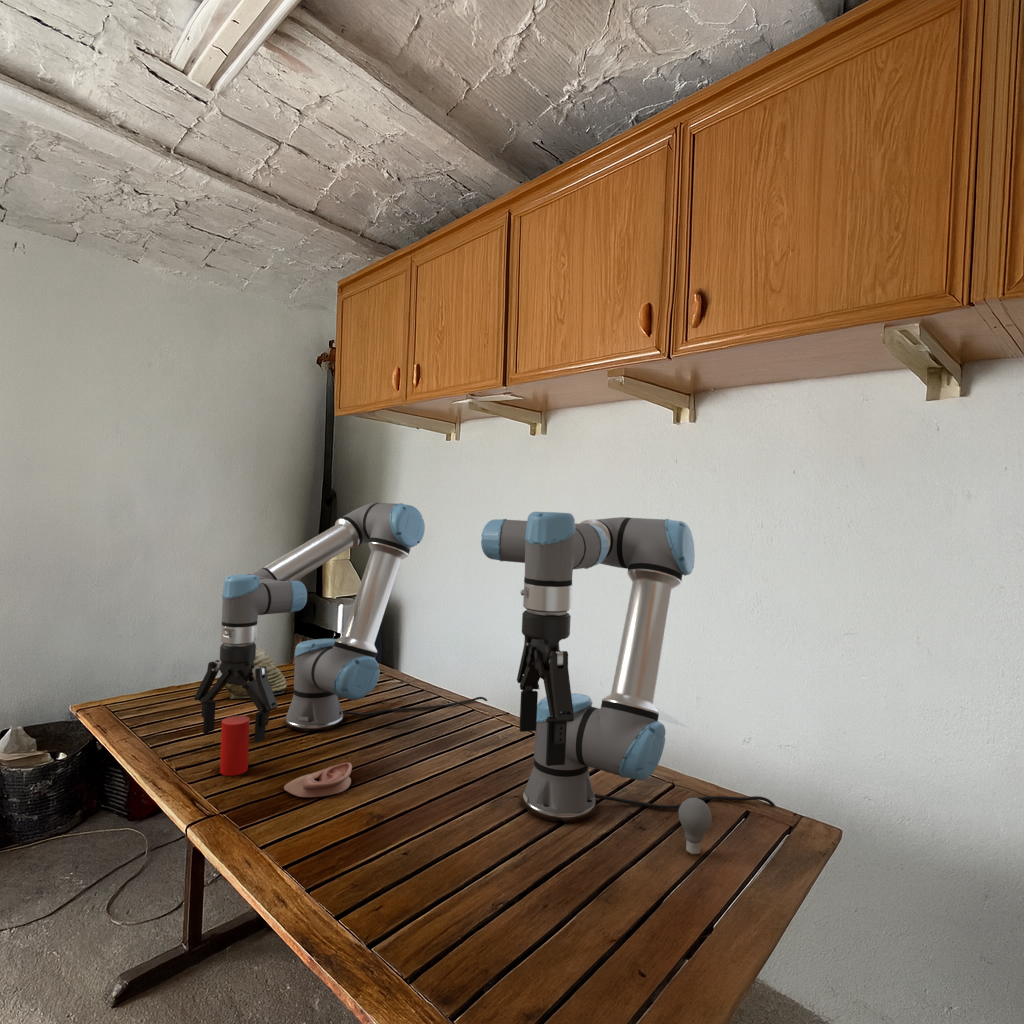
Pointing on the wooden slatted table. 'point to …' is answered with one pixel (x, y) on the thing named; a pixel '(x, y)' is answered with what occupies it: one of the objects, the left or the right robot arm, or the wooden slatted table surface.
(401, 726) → the wooden slatted table surface
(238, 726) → the red cylinder
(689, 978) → the wooden slatted table surface
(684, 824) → the light bulb
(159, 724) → the wooden slatted table surface
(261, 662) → the fossil
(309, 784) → the anatomical model
